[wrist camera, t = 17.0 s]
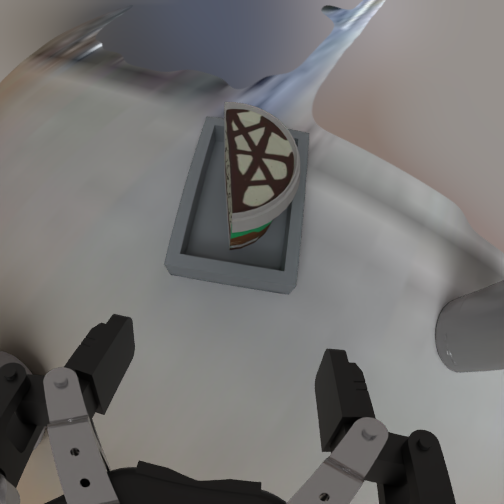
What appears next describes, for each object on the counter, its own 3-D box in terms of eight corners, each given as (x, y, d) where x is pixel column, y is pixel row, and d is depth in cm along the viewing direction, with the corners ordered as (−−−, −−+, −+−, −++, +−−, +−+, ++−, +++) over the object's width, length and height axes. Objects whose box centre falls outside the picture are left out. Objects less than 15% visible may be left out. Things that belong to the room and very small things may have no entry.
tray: (302, 151, 37) (309, 133, 34) (288, 294, 31) (295, 286, 28) (207, 135, 37) (206, 116, 34) (170, 274, 31) (164, 264, 28)
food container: (291, 260, 32) (318, 217, 22) (230, 264, 31) (232, 221, 22) (276, 159, 36) (291, 98, 26) (223, 161, 35) (224, 98, 26)
